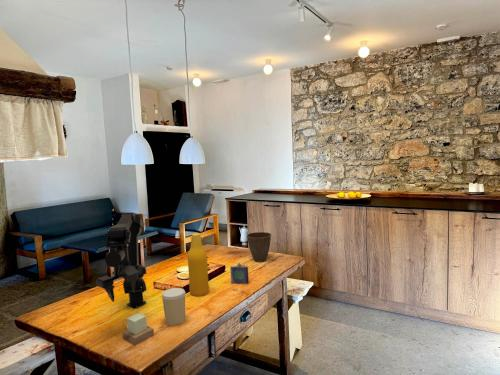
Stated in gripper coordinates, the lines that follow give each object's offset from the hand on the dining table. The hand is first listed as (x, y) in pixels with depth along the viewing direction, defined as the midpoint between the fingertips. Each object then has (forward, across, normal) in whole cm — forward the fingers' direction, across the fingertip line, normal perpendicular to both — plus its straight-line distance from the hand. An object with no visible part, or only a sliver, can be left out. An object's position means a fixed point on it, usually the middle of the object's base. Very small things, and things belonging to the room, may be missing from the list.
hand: (123, 297), depth 136 cm
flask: (+12, +59, -10) cm, 61 cm away
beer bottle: (+12, +39, -1) cm, 41 cm away
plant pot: (+12, +94, +3) cm, 95 cm away
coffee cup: (+12, +14, -13) cm, 23 cm away
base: (+12, -2, -11) cm, 17 cm away
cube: (+10, -2, -11) cm, 15 cm away
